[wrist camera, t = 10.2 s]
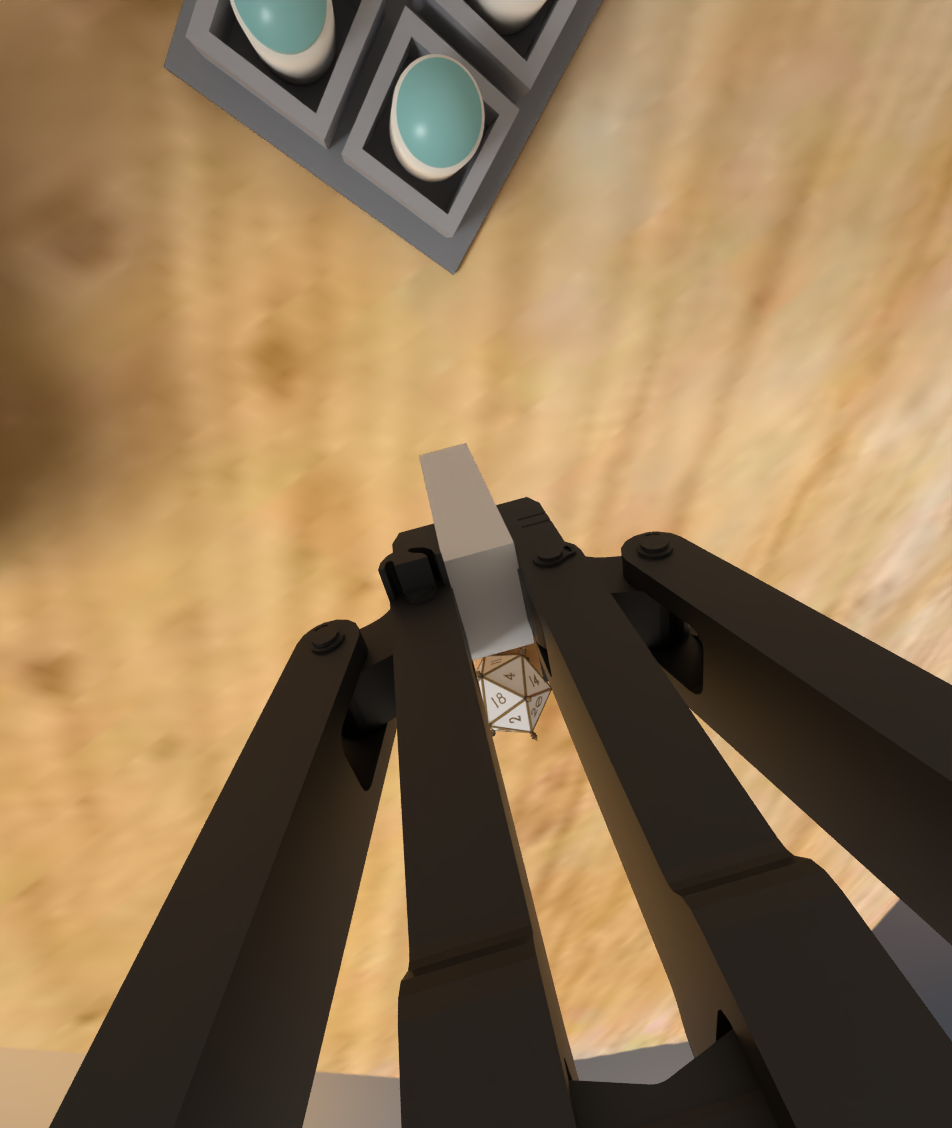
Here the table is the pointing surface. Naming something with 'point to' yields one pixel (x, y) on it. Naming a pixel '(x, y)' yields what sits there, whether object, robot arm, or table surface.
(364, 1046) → the table surface
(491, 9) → the button
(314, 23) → the button
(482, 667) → the game die
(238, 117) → the board
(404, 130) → the button
